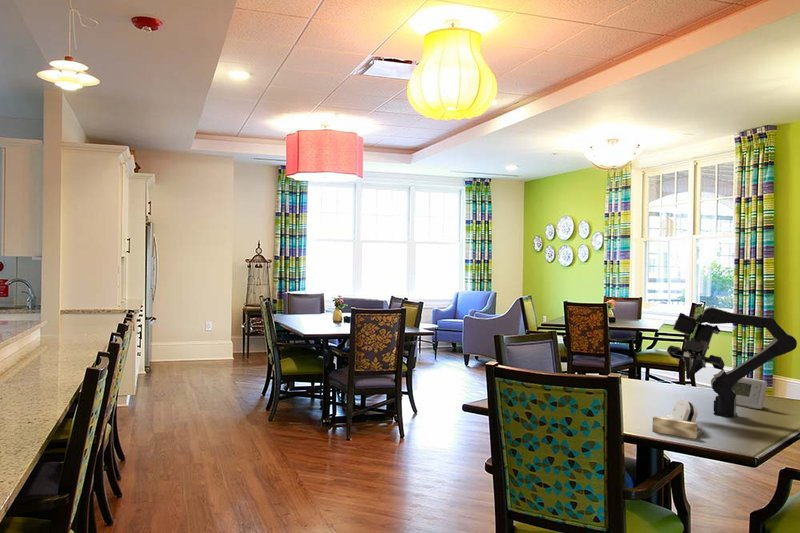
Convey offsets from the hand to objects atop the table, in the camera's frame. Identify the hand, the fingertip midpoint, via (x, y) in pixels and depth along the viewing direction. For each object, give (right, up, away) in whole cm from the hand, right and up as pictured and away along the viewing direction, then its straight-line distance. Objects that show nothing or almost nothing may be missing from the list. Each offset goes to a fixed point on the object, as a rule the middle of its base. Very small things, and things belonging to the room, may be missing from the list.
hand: (687, 378), depth 236 cm
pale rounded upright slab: (-9, -14, -15) cm, 22 cm away
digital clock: (+29, -14, +19) cm, 37 cm away
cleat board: (-13, -13, -23) cm, 30 cm away
